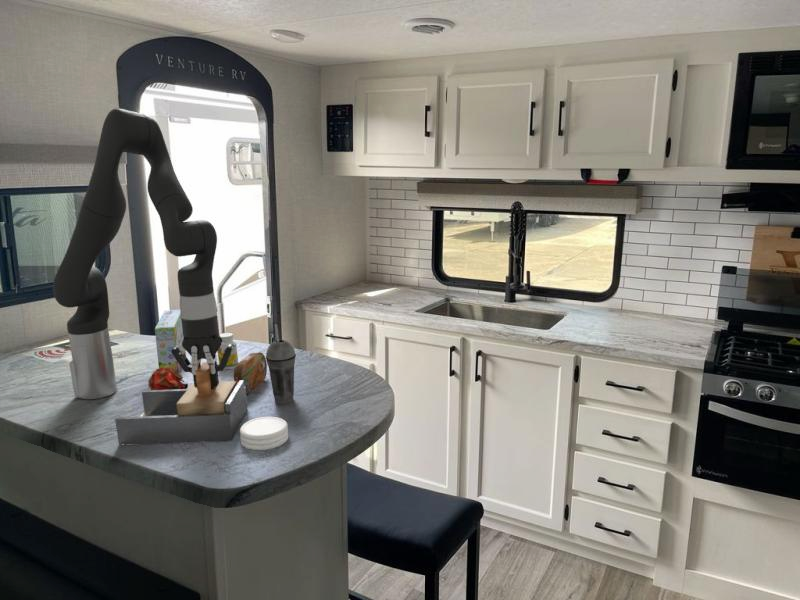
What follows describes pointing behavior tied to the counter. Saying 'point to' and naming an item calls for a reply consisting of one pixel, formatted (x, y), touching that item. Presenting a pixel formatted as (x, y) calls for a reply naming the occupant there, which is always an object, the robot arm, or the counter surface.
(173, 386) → the dragon fruit
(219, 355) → the supplement bottle
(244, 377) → the tin
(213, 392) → the wooden block with upright
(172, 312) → the snack box
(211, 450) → the counter surface
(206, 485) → the counter surface
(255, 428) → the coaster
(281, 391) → the beverage cup
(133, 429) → the bay
